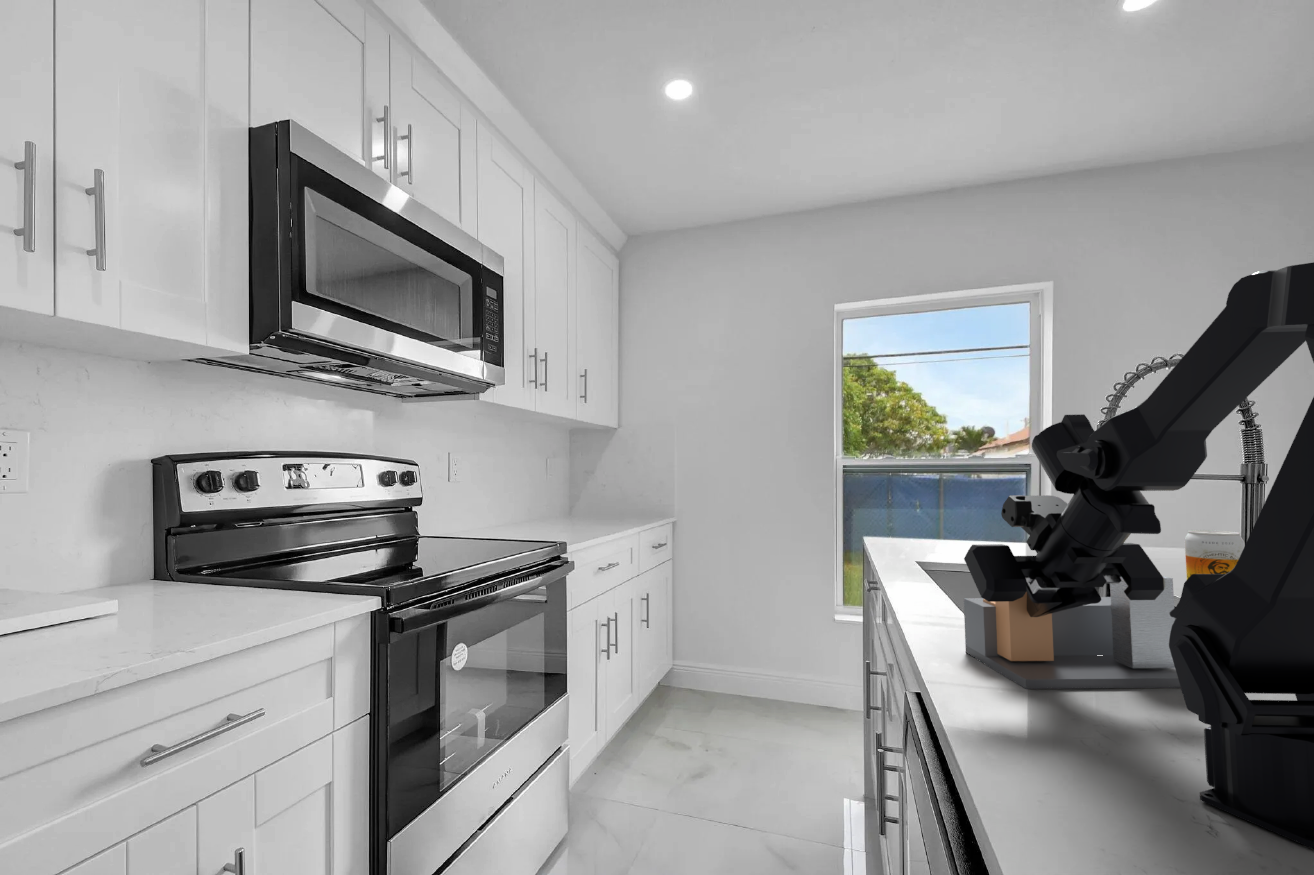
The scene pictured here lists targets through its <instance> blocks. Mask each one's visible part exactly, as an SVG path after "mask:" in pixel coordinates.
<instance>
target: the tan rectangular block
mask: <svg viewBox="0 0 1314 875" xmlns="http://www.w3.org/2000/svg"><path fill="white" fill-rule="evenodd" d="M995 604H996V629H997V654H999V655H1001V656H1003V657H1004V658H1006V659H1008V660H1010V661H1054V653H1053V630H1052V613H1051V614H1047V615H1044V616H1040V617H1030V615H1029V613H1028V611H1027V592H1026V593H1025V595H1024V596H1023V597H1022V598H1020V599H1017V600H1015V601H1003V602H995Z"/></svg>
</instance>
